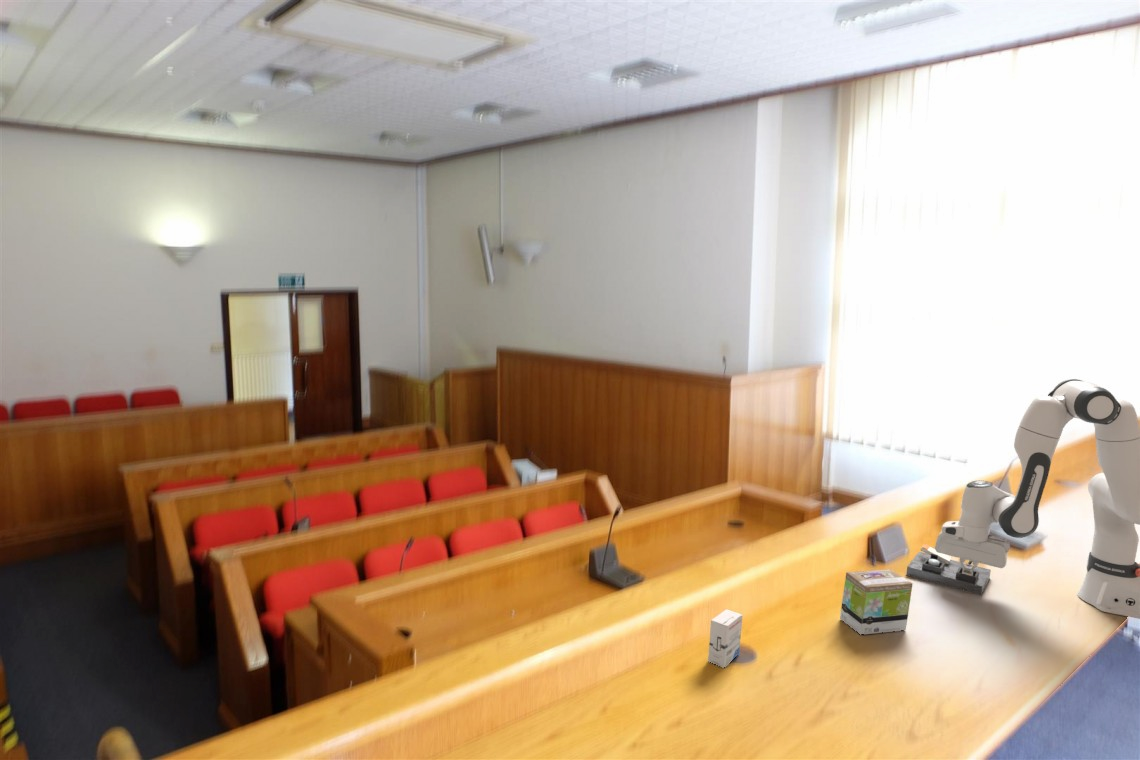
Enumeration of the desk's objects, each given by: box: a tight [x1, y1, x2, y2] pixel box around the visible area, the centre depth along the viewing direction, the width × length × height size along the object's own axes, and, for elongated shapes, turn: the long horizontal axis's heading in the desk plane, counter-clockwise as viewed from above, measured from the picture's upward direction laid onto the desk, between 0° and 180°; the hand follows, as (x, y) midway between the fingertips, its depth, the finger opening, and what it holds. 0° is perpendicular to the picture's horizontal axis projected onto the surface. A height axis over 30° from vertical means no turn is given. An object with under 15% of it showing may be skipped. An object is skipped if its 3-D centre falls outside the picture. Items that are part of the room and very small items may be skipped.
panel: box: [906, 551, 992, 596], centre depth 249 cm, size 22×16×6 cm
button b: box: [928, 559, 939, 566], centre depth 248 cm, size 3×3×1 cm
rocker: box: [920, 543, 953, 564], centre depth 255 cm, size 9×4×2 cm, turn 54°
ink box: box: [707, 608, 743, 669], centre depth 195 cm, size 9×5×12 cm, turn 141°
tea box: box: [839, 568, 913, 636], centre depth 215 cm, size 15×10×15 cm
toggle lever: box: [966, 560, 973, 567], centre depth 249 cm, size 1×1×5 cm
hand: (967, 572), depth 242 cm, fingers closed, pressing on button a
